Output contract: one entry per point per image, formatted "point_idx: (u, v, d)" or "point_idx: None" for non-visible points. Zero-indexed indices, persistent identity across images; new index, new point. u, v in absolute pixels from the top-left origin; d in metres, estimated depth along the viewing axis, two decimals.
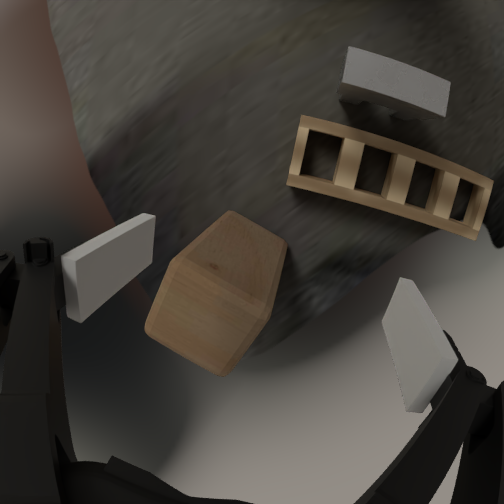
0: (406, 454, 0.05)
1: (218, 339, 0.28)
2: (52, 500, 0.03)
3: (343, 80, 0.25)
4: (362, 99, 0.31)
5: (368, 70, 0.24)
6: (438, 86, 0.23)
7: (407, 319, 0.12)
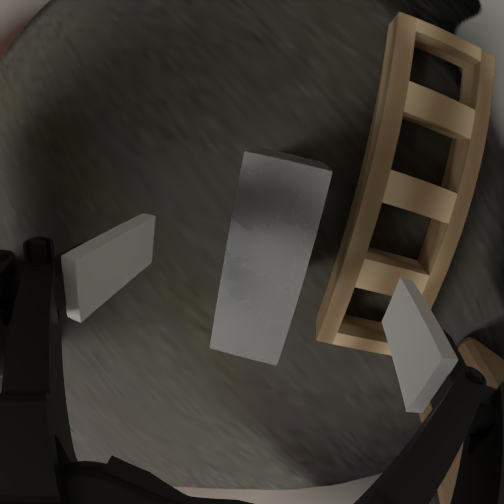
0: (406, 454, 0.05)
1: None
2: (52, 500, 0.03)
3: (274, 363, 0.17)
4: None
5: (250, 325, 0.16)
6: (262, 183, 0.14)
7: (407, 319, 0.12)
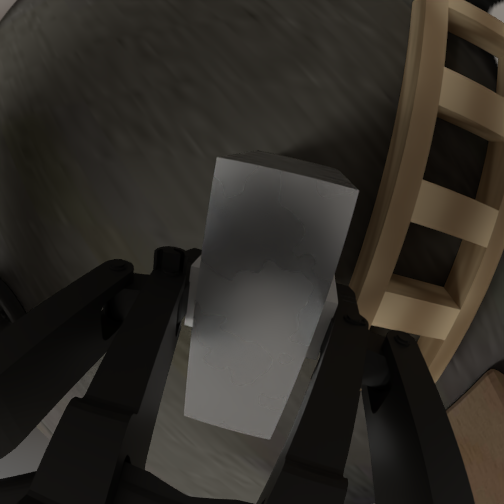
0: (304, 412, 0.06)
1: None
2: (52, 500, 0.03)
3: (266, 437, 0.12)
4: None
5: (234, 397, 0.11)
6: (245, 208, 0.09)
7: None
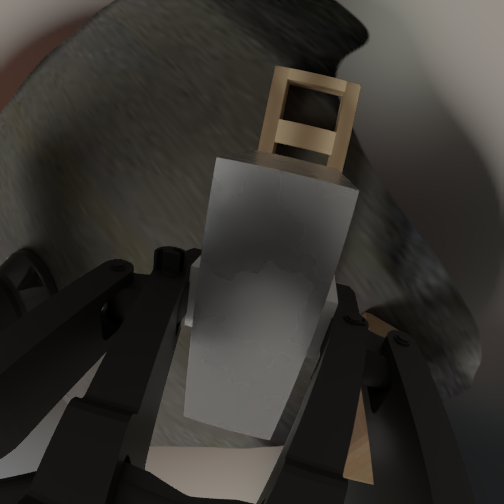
0: (304, 412, 0.06)
1: None
2: (52, 500, 0.03)
3: (266, 438, 0.12)
4: None
5: (234, 398, 0.11)
6: (245, 208, 0.09)
7: None
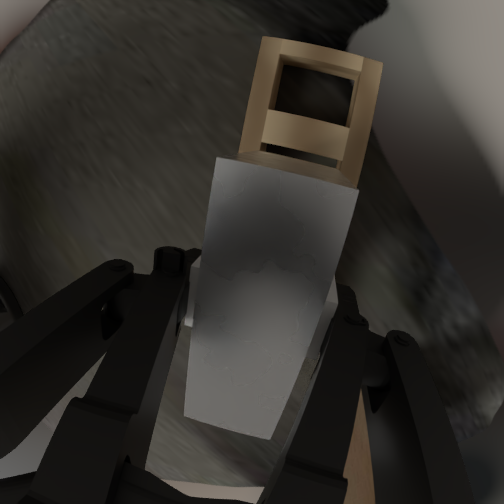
0: (304, 412, 0.06)
1: None
2: (52, 500, 0.03)
3: (266, 437, 0.12)
4: None
5: (234, 398, 0.11)
6: (245, 208, 0.09)
7: None
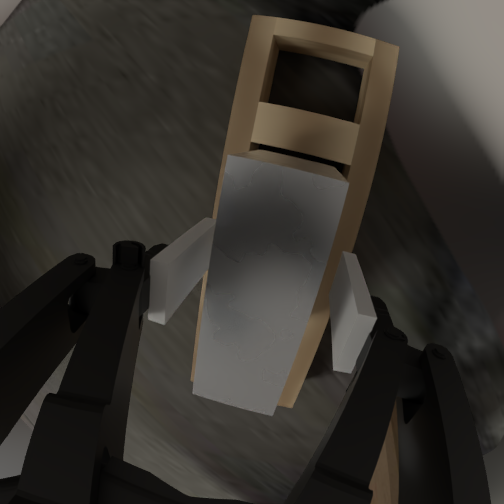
0: (338, 423, 0.06)
1: None
2: (52, 500, 0.03)
3: (269, 413, 0.13)
4: None
5: (240, 373, 0.13)
6: (252, 198, 0.10)
7: (342, 287, 0.14)
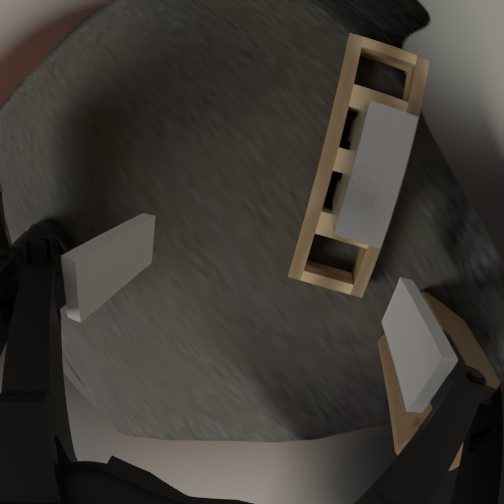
0: (406, 454, 0.05)
1: None
2: (52, 500, 0.03)
3: (378, 246, 0.24)
4: None
5: (365, 214, 0.23)
6: (379, 119, 0.20)
7: (407, 319, 0.12)
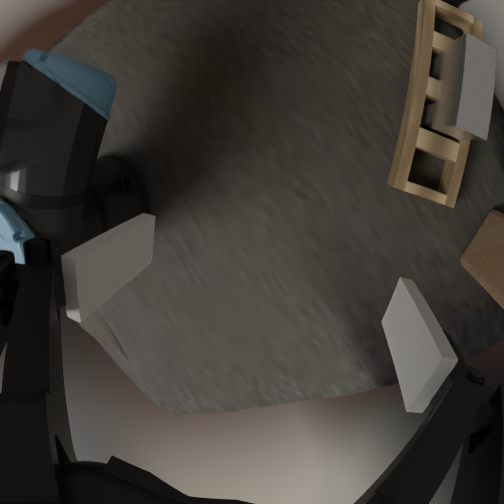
0: (406, 454, 0.05)
1: None
2: (52, 500, 0.03)
3: (485, 139, 0.23)
4: None
5: (475, 112, 0.22)
6: (474, 46, 0.19)
7: (407, 319, 0.12)
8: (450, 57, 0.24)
